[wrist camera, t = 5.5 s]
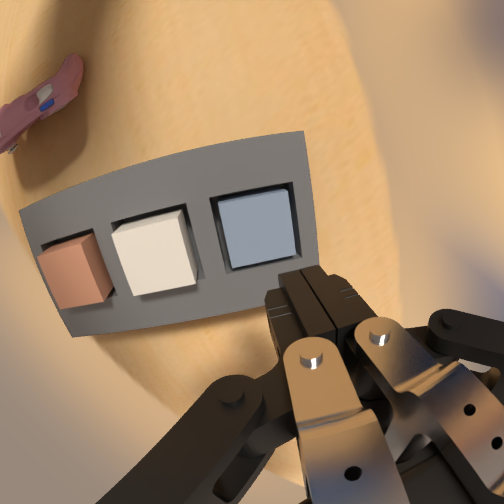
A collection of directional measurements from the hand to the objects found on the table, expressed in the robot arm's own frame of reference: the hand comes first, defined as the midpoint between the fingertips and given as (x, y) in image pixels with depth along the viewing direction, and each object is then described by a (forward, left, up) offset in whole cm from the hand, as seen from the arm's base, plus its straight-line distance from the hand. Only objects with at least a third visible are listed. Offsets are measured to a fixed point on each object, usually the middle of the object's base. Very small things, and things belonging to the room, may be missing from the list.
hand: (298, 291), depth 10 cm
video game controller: (-14, -16, -13) cm, 25 cm away
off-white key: (0, -7, -10) cm, 12 cm away
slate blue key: (0, 0, -11) cm, 11 cm away
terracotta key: (0, -14, -10) cm, 17 cm away
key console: (0, -7, -13) cm, 15 cm away
